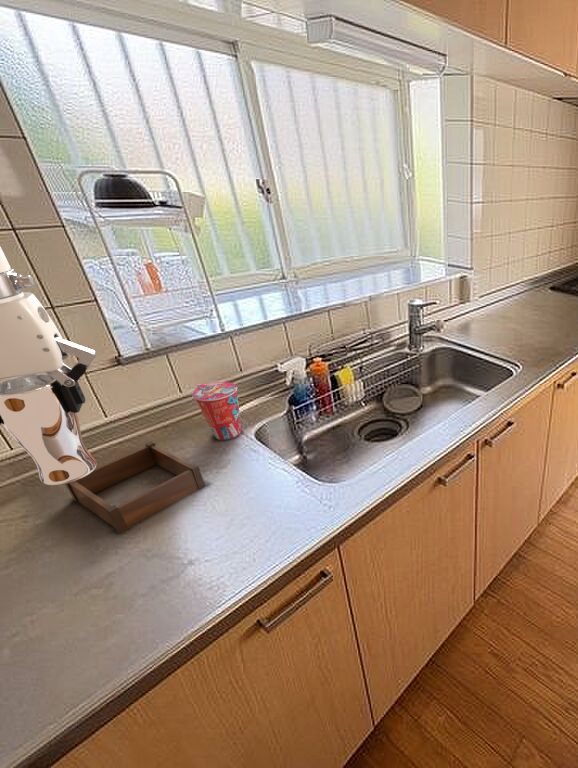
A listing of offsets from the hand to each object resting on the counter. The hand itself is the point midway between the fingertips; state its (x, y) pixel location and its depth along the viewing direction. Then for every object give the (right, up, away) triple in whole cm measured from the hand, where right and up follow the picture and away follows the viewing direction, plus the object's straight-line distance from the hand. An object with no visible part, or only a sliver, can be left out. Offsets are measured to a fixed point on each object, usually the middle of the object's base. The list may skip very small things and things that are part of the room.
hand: (39, 414), depth 58 cm
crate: (-5, -17, +22) cm, 28 cm away
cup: (-2, -8, +41) cm, 42 cm away
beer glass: (-1, -9, +5) cm, 10 cm away
